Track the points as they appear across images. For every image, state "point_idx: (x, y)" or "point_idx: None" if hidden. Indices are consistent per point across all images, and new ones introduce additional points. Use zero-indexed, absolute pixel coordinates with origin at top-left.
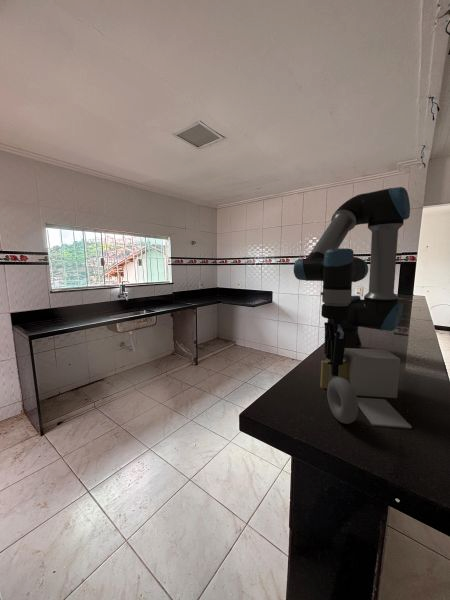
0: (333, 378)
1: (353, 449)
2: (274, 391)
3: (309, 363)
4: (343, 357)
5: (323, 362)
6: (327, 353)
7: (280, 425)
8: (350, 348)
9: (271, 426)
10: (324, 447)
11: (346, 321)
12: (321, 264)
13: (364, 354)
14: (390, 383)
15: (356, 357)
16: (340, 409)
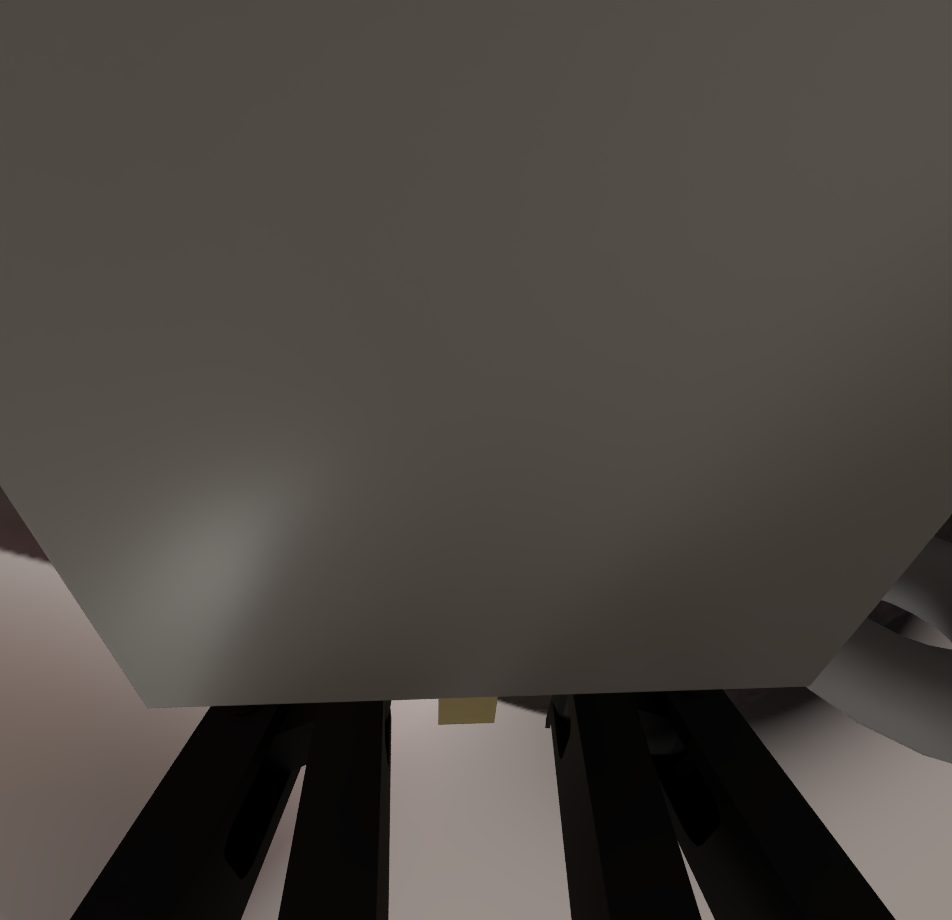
0: (936, 757)
1: (949, 541)
2: (522, 701)
3: (17, 532)
4: (795, 791)
5: (494, 718)
6: (389, 778)
7: (747, 690)
8: (81, 576)
9: (744, 706)
10: (892, 610)
11: None
12: None
13: (742, 370)
14: None
15: (842, 633)
16: (887, 601)
